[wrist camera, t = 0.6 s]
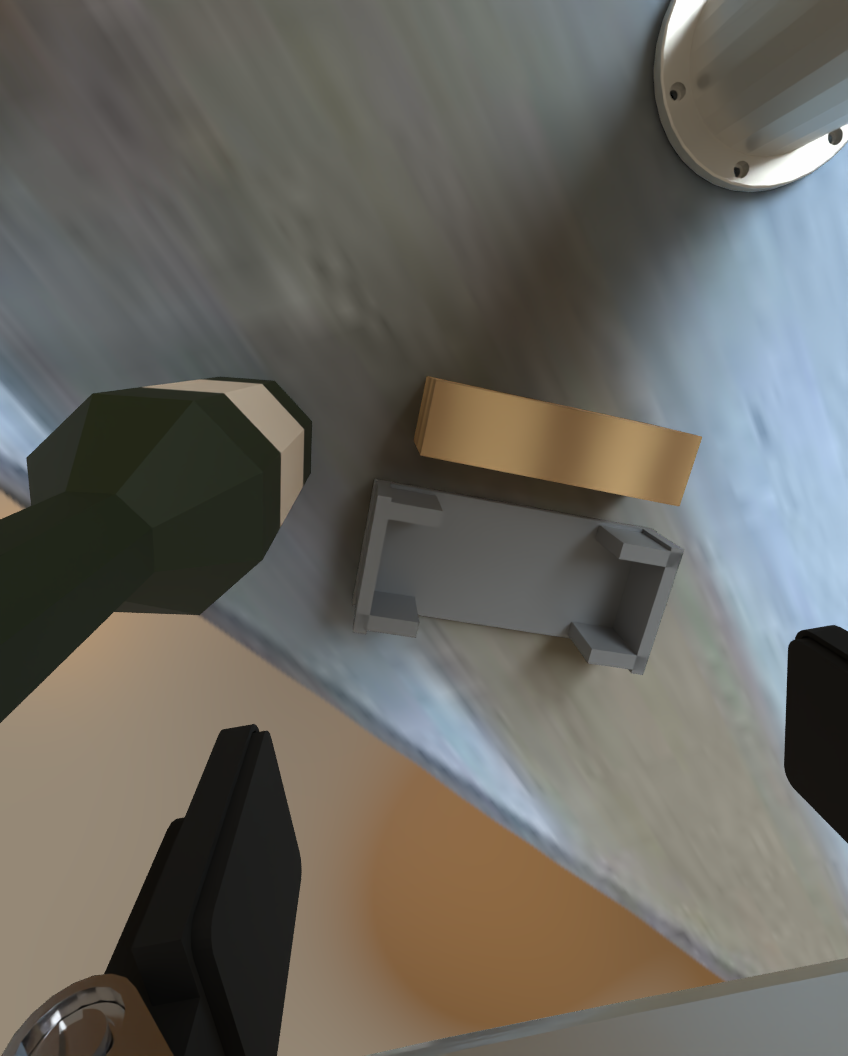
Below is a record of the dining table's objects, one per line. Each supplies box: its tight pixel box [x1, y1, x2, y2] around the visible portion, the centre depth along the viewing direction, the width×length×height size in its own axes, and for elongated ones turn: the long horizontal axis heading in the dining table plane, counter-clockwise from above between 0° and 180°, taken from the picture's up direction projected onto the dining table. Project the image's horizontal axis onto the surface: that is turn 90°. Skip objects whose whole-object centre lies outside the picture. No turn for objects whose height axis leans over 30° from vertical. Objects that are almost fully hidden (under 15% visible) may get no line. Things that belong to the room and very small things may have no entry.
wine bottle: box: [0, 377, 312, 723], centre depth 22 cm, size 8×8×30 cm
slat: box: [414, 376, 702, 506], centre depth 35 cm, size 15×4×6 cm, turn 78°
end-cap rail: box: [352, 479, 684, 675], centre depth 38 cm, size 19×8×5 cm, turn 79°
